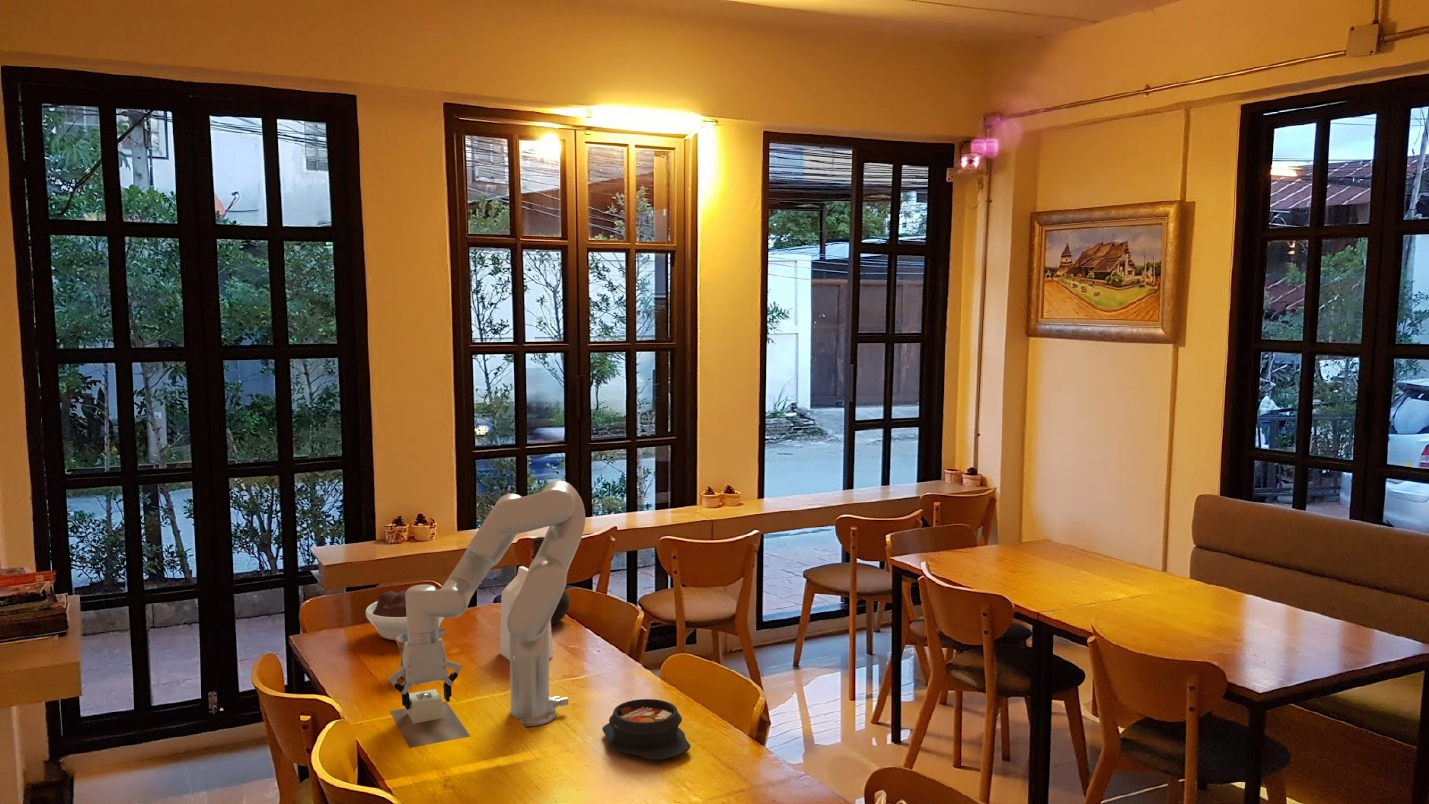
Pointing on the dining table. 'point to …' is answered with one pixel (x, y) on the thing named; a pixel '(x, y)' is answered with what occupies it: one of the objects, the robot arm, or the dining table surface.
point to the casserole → (646, 729)
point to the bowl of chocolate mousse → (390, 614)
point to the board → (430, 727)
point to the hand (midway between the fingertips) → (427, 703)
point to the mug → (401, 646)
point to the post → (423, 695)
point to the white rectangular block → (425, 707)
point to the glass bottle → (564, 600)
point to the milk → (506, 601)
